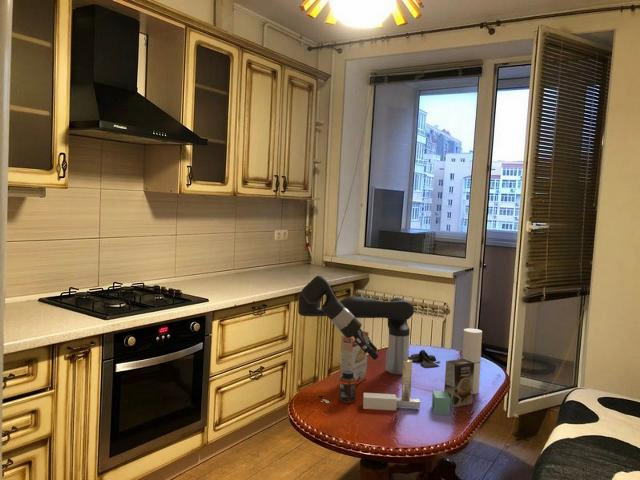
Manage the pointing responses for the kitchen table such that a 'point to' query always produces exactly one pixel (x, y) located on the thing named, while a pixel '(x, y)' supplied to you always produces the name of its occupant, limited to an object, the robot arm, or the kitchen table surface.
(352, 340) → the cracker box
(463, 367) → the coffee box
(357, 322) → the robot arm
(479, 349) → the cylindrical container
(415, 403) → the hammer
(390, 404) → the sleeve
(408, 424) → the kitchen table surface
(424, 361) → the cloth
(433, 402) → the socket
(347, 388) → the supplement bottle
